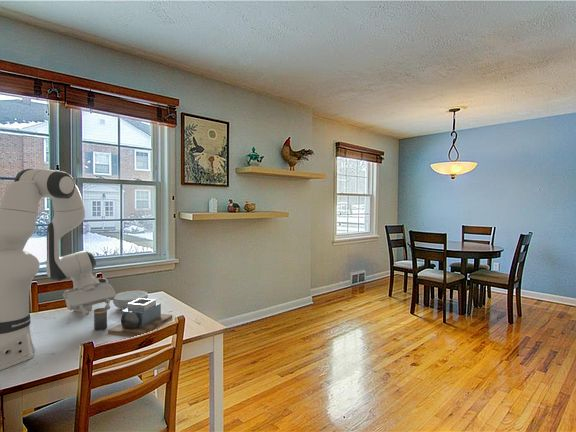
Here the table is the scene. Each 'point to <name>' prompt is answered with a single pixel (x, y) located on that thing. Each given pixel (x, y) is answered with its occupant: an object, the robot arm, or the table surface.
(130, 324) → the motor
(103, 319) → the dark grey cylinder
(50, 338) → the table surface
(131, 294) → the cereal bowl
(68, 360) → the table surface
